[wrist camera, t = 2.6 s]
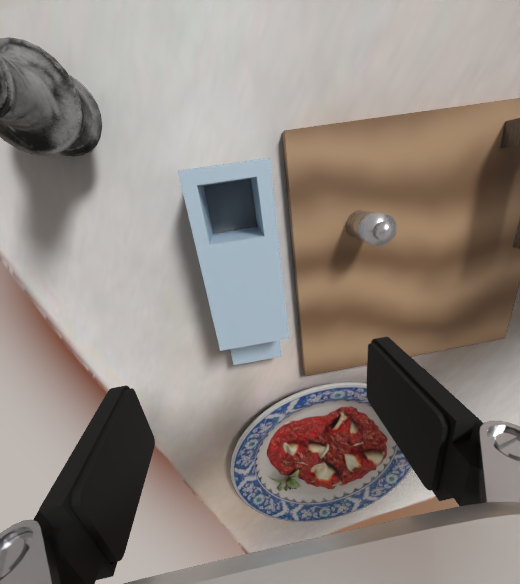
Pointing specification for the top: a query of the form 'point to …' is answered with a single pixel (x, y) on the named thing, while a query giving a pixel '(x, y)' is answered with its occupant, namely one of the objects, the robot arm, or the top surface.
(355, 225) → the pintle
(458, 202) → the board
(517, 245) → the bracket
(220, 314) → the link
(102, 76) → the top surface
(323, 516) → the ceramic plate
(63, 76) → the grey stone sculpture
